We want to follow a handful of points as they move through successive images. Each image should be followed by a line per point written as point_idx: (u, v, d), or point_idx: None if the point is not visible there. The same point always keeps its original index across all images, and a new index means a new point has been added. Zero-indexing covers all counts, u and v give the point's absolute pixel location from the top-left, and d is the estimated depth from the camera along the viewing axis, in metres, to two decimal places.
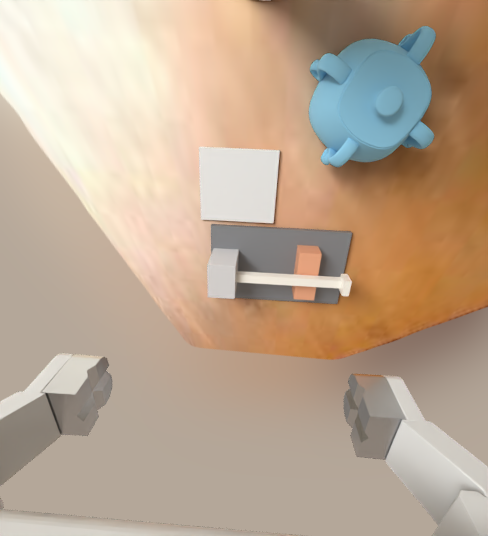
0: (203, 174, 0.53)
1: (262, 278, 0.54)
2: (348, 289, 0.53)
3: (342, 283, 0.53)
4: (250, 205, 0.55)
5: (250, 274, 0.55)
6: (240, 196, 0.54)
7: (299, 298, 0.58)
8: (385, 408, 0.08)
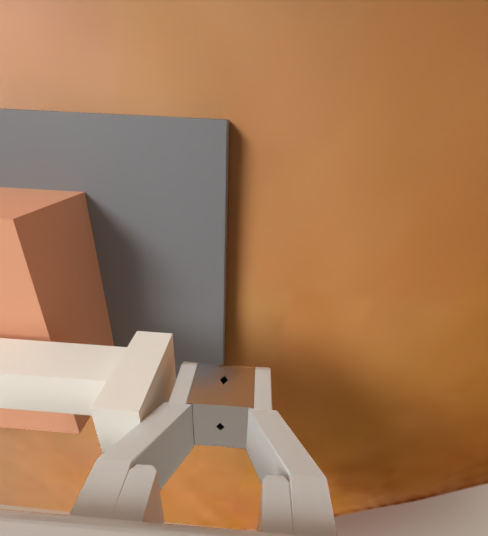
0: None
1: None
2: None
3: None
4: None
5: None
6: None
7: (15, 425, 0.13)
8: (238, 397, 0.08)
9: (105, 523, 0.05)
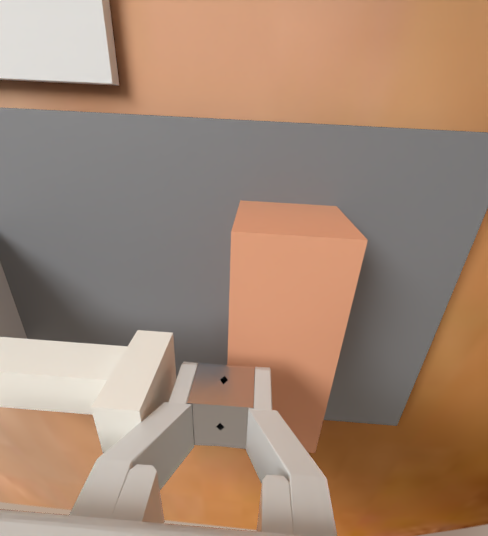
0: None
1: None
2: None
3: None
4: None
5: None
6: None
7: None
8: (238, 398, 0.08)
9: (105, 523, 0.05)
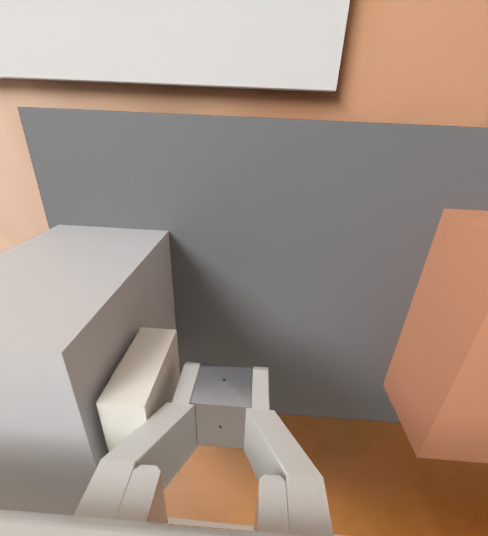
0: None
1: None
2: None
3: None
4: None
5: None
6: None
7: (445, 456, 0.13)
8: (236, 397, 0.08)
9: (105, 523, 0.05)
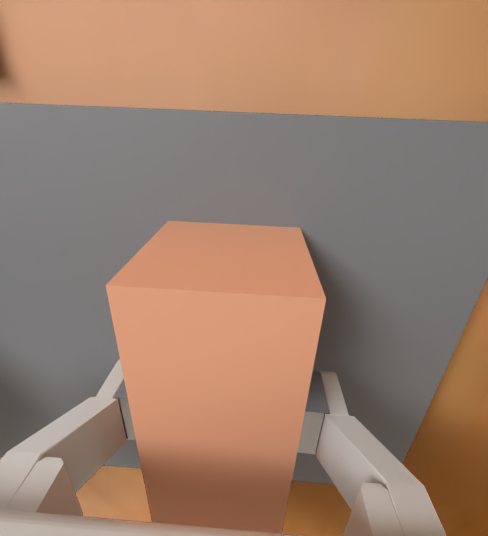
0: None
1: None
2: None
3: None
4: None
5: None
6: None
7: None
8: (312, 403, 0.08)
9: (105, 523, 0.05)
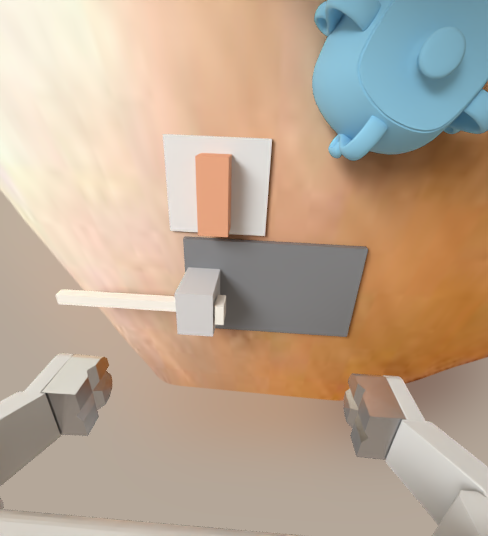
0: (170, 171, 0.40)
1: (114, 300, 0.42)
2: (221, 316, 0.40)
3: None
4: (234, 212, 0.42)
5: (99, 295, 0.42)
6: None
7: (205, 234, 0.39)
8: (385, 408, 0.08)
9: (105, 523, 0.05)
